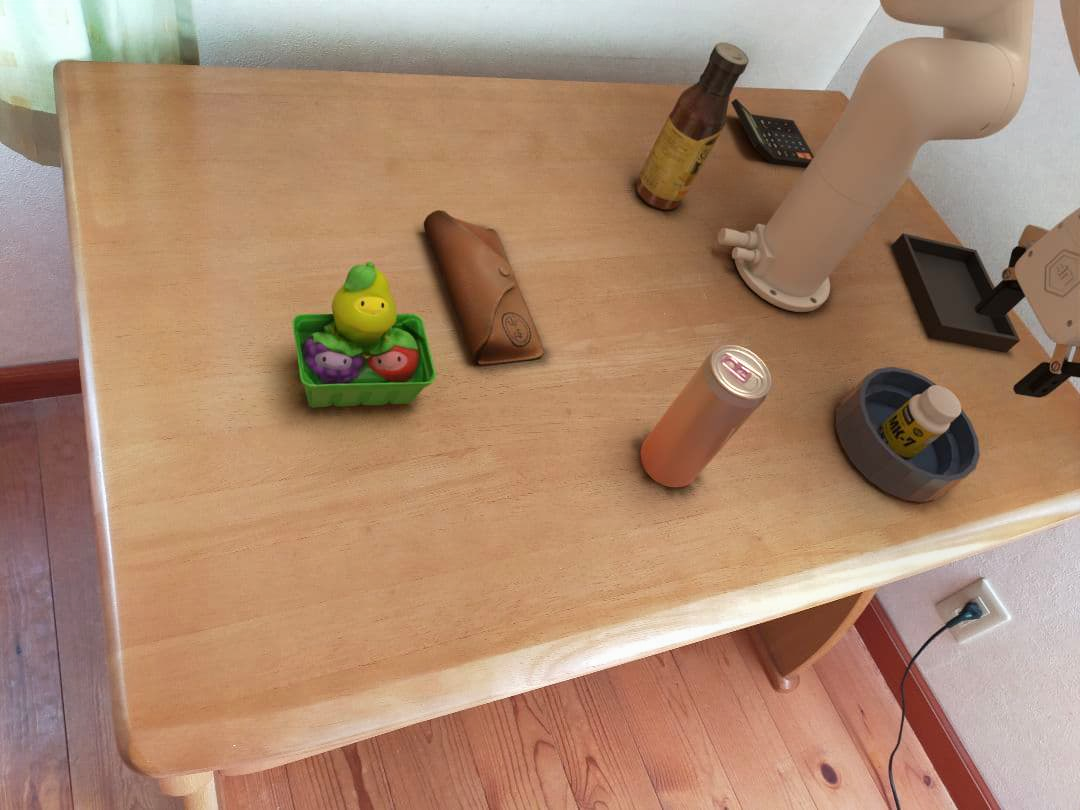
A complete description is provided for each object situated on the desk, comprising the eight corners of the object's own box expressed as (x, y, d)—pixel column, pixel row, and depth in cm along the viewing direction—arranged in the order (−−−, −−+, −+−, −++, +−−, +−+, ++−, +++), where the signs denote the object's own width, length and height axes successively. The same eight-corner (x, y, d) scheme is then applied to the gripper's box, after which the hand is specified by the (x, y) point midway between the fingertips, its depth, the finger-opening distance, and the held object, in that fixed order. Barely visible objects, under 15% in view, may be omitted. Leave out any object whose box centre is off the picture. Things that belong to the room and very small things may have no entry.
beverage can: (658, 427, 87) (730, 331, 76) (705, 467, 86) (785, 376, 75) (626, 459, 83) (696, 364, 72) (674, 502, 82) (753, 412, 71)
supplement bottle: (866, 431, 96) (915, 386, 89) (894, 421, 98) (943, 377, 92) (893, 467, 94) (945, 424, 87) (920, 456, 96) (973, 413, 90)
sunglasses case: (551, 355, 87) (538, 321, 81) (486, 383, 87) (468, 350, 81) (494, 225, 96) (478, 185, 90) (434, 250, 96) (415, 212, 90)
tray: (1006, 352, 113) (1020, 340, 112) (928, 337, 110) (941, 325, 108) (964, 262, 123) (976, 249, 121) (891, 246, 119) (902, 232, 117)
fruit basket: (295, 421, 74) (310, 338, 66) (284, 339, 79) (296, 251, 70) (425, 416, 79) (455, 337, 70) (408, 338, 84) (434, 255, 75)
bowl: (853, 496, 90) (882, 471, 86) (819, 385, 98) (845, 358, 94) (965, 510, 94) (998, 487, 90) (924, 402, 102) (952, 377, 98)
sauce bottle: (677, 219, 108) (758, 82, 92) (630, 200, 107) (704, 58, 92) (682, 187, 112) (760, 51, 97) (637, 169, 111) (708, 28, 96)
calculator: (814, 168, 125) (826, 151, 122) (746, 160, 120) (756, 142, 118) (790, 125, 130) (801, 108, 127) (723, 115, 125) (733, 98, 123)
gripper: (1074, 140, 74) (942, 279, 87) (1175, 290, 64) (1008, 422, 77) (1141, 158, 76) (1002, 292, 89) (1250, 306, 66) (1075, 432, 79)
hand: (1005, 352), depth 83 cm, fingers open, 9 cm apart
